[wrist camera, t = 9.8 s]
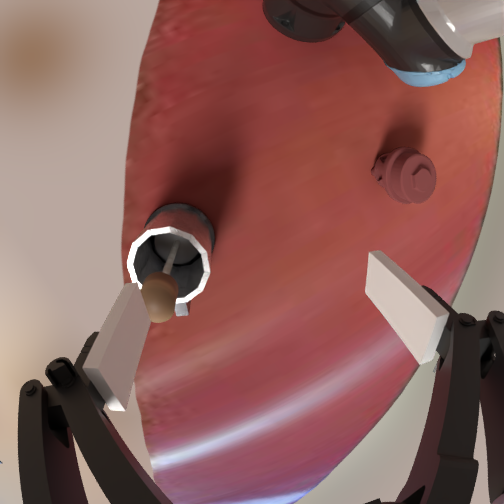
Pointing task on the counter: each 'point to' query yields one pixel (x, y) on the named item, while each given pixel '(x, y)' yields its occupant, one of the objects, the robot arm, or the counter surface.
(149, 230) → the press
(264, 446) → the counter surface
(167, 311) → the plunger
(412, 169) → the mechanical component
